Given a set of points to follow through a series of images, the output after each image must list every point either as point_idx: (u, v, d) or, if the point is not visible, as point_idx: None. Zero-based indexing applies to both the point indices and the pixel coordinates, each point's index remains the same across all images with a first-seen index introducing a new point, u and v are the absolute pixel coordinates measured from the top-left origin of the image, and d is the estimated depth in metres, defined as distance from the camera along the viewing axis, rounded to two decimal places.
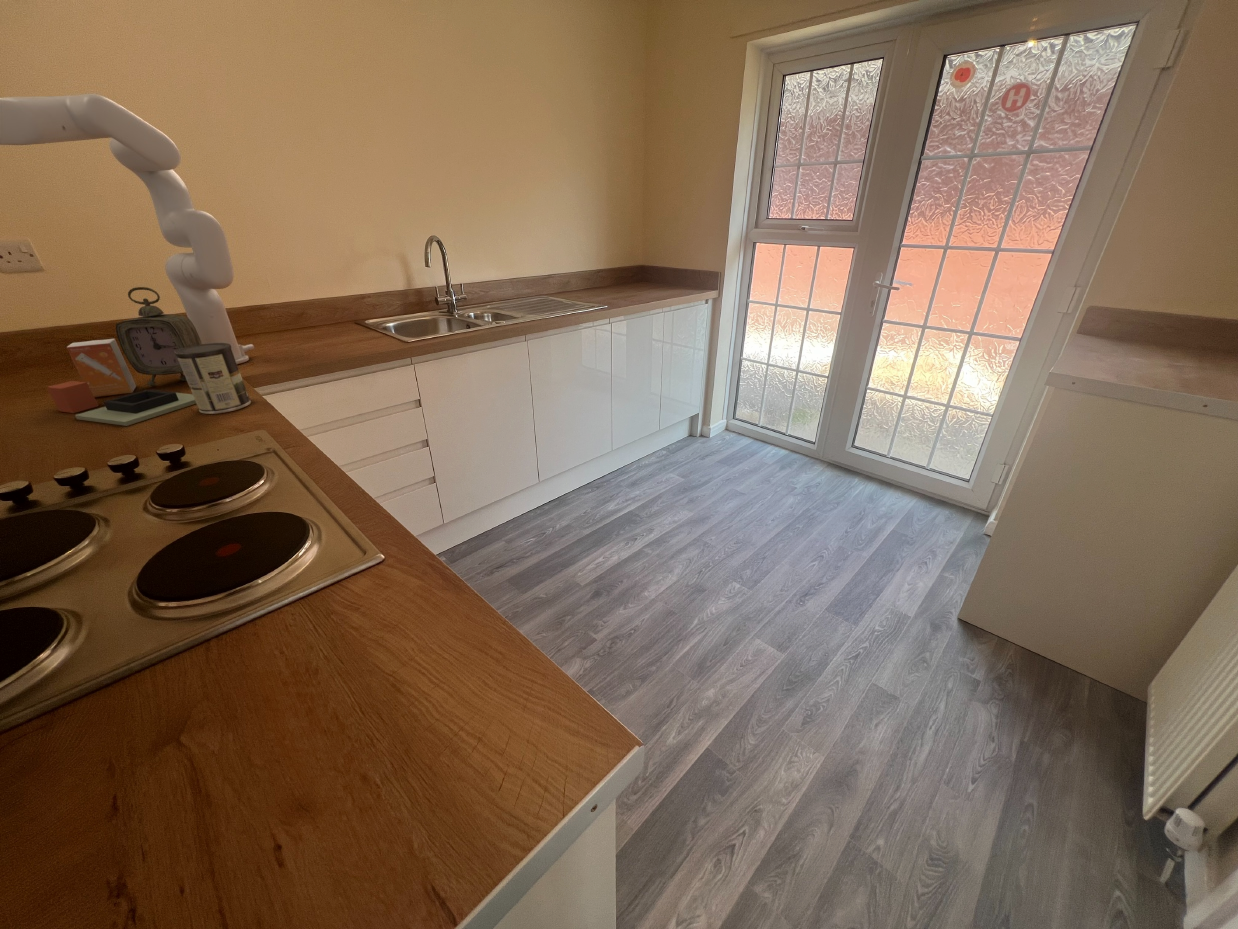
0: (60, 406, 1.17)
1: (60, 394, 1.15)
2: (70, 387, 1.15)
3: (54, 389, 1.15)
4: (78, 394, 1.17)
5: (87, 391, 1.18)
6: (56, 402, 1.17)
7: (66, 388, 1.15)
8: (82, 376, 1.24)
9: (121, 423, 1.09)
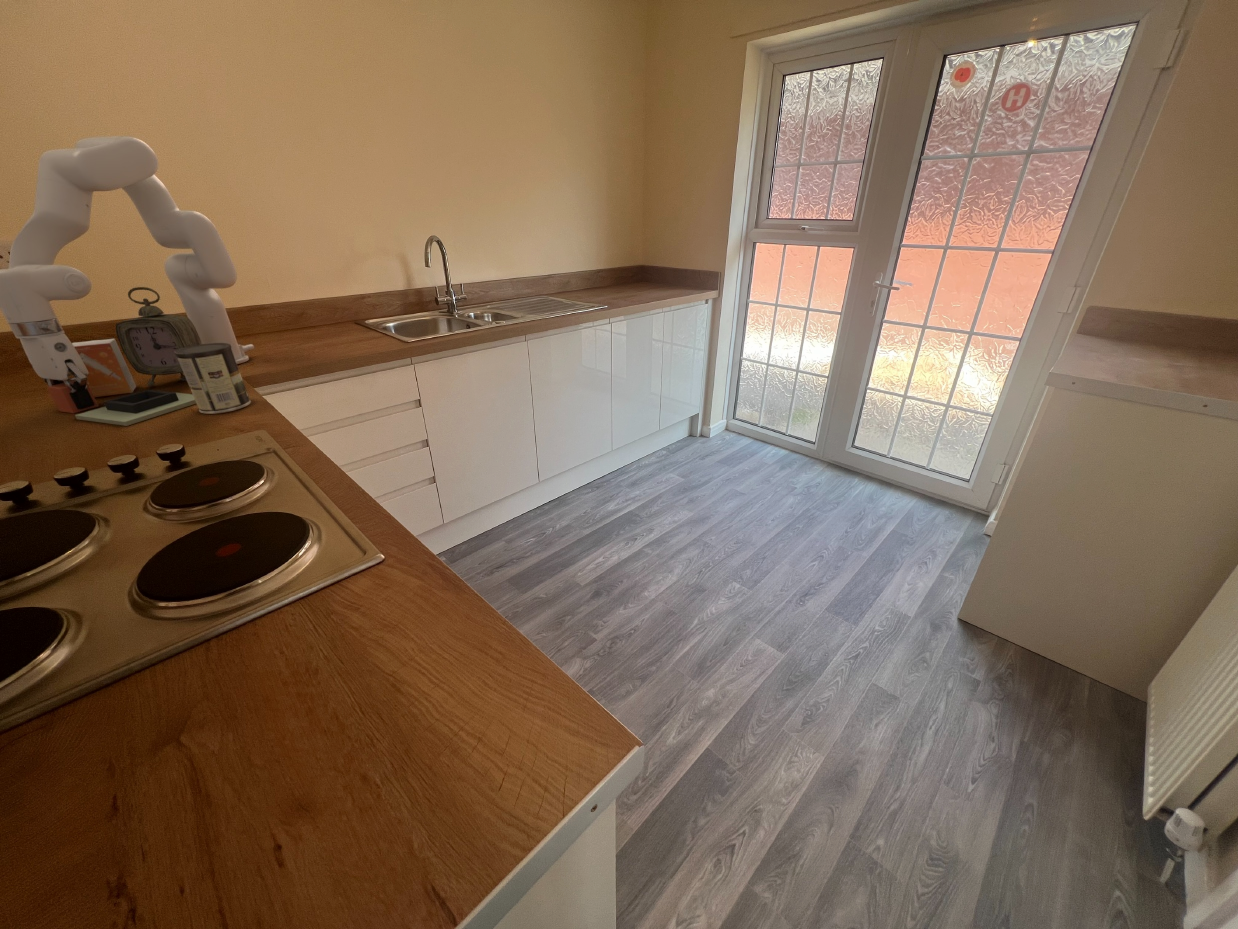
0: (60, 406, 1.17)
1: (60, 394, 1.15)
2: None
3: (54, 389, 1.15)
4: None
5: None
6: (56, 402, 1.17)
7: (66, 388, 1.15)
8: None
9: (121, 423, 1.09)
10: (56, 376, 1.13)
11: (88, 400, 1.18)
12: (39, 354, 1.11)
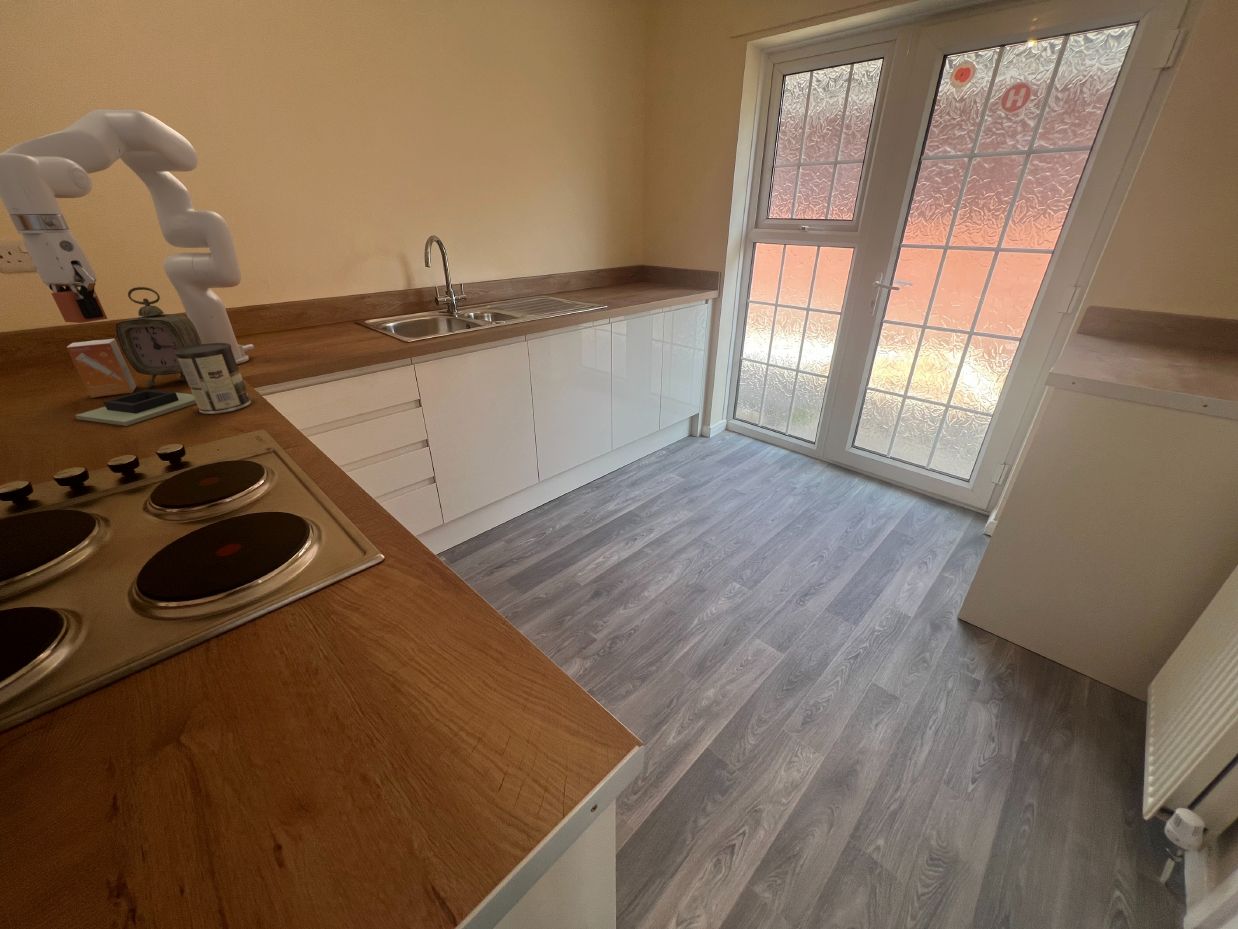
0: (66, 315, 1.07)
1: (66, 301, 1.05)
2: None
3: (59, 295, 1.05)
4: None
5: None
6: (61, 311, 1.07)
7: (72, 294, 1.05)
8: (82, 376, 1.24)
9: (121, 423, 1.09)
10: (61, 279, 1.03)
11: (96, 309, 1.08)
12: (43, 253, 1.01)
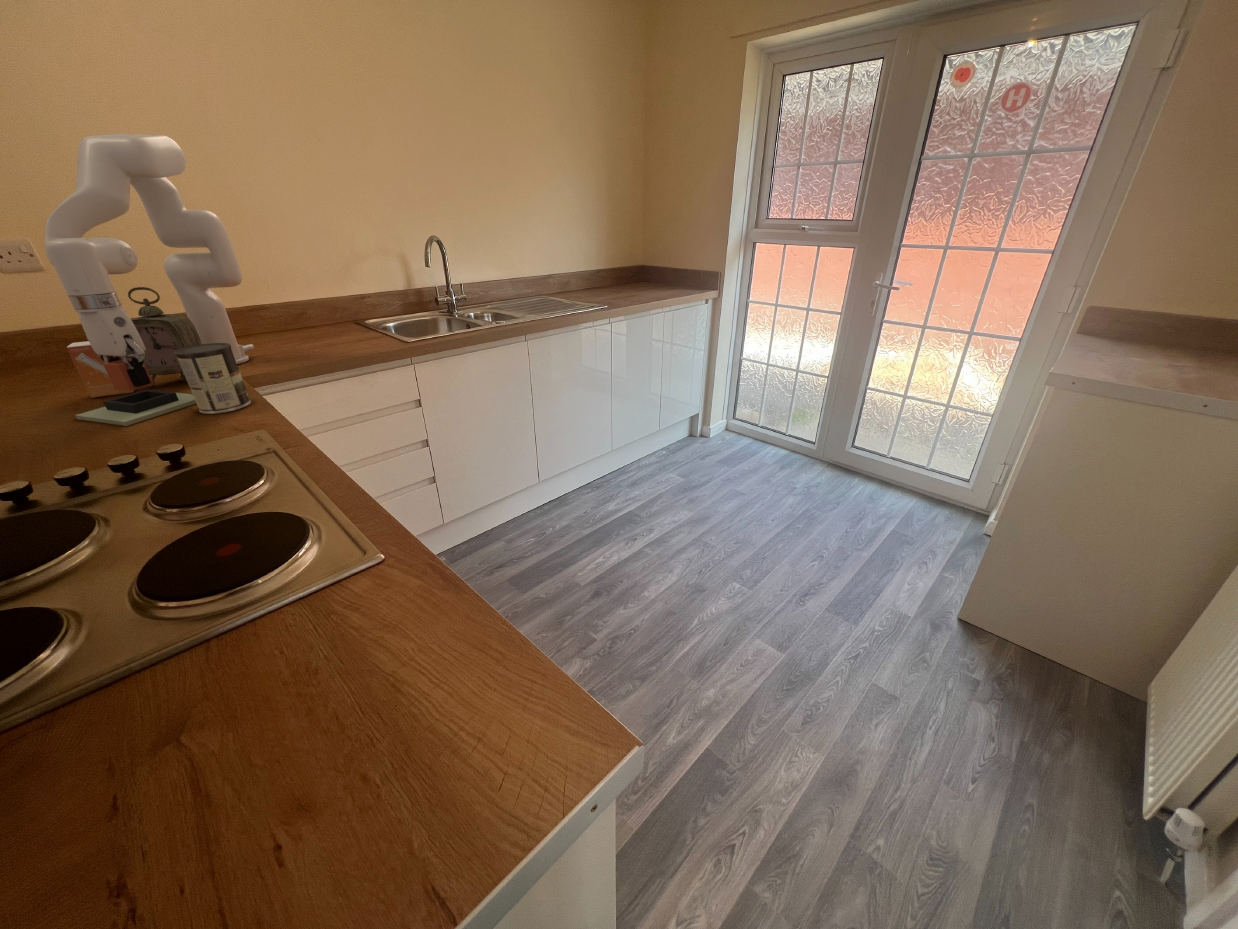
0: (116, 384, 1.13)
1: (117, 371, 1.11)
2: None
3: (111, 366, 1.11)
4: None
5: None
6: (112, 380, 1.13)
7: (123, 365, 1.11)
8: (82, 376, 1.24)
9: (121, 423, 1.09)
10: (114, 351, 1.10)
11: (145, 378, 1.14)
12: (98, 329, 1.07)
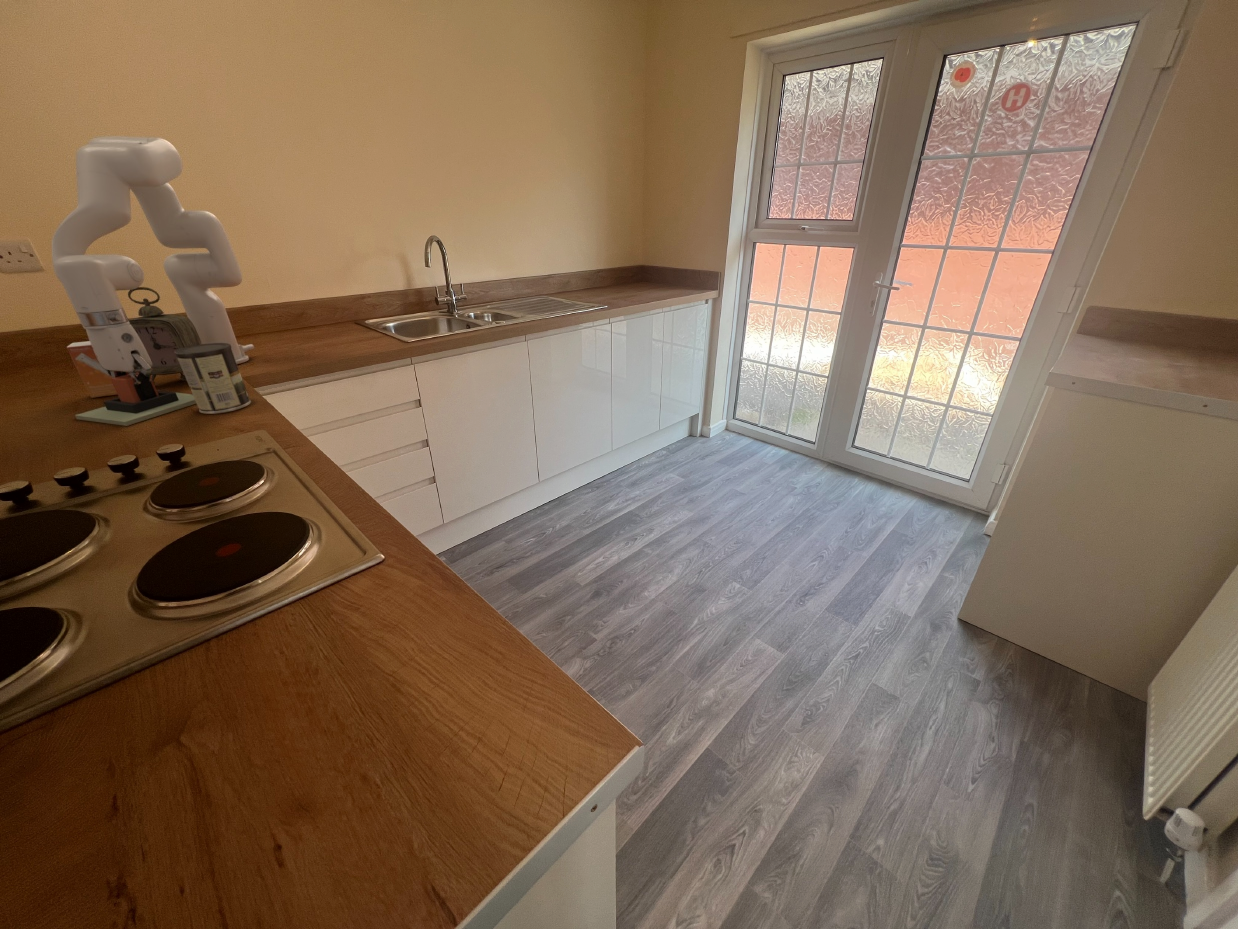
0: (123, 398, 1.15)
1: (124, 386, 1.13)
2: None
3: (118, 381, 1.13)
4: None
5: None
6: (119, 394, 1.15)
7: (130, 380, 1.13)
8: (82, 376, 1.24)
9: (121, 423, 1.09)
10: (121, 367, 1.11)
11: (151, 392, 1.16)
12: (106, 345, 1.09)
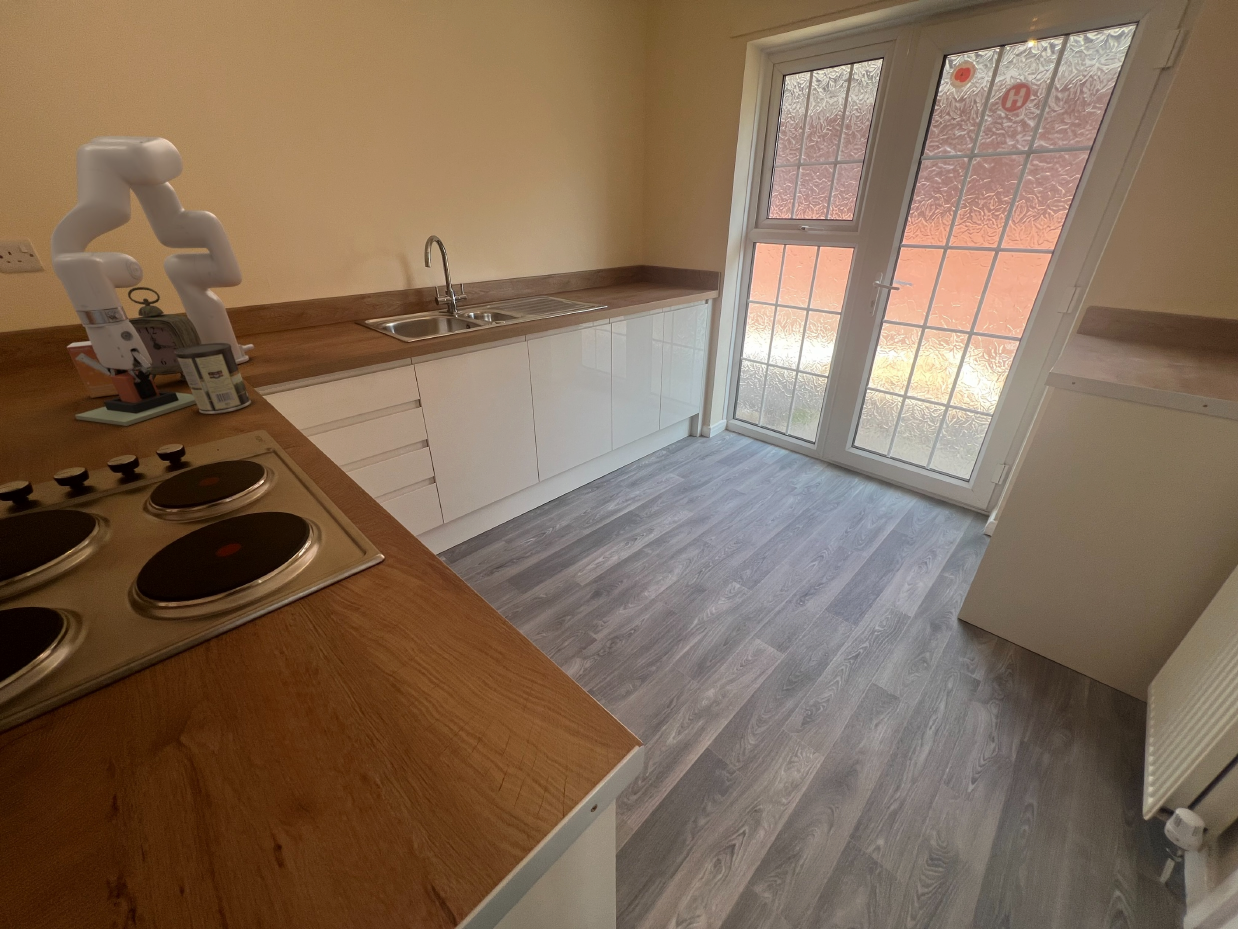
0: (123, 396, 1.15)
1: (124, 384, 1.13)
2: None
3: (118, 379, 1.13)
4: None
5: None
6: (119, 392, 1.15)
7: (130, 378, 1.13)
8: (82, 376, 1.24)
9: (121, 423, 1.09)
10: (121, 365, 1.11)
11: (151, 390, 1.16)
12: (105, 343, 1.09)
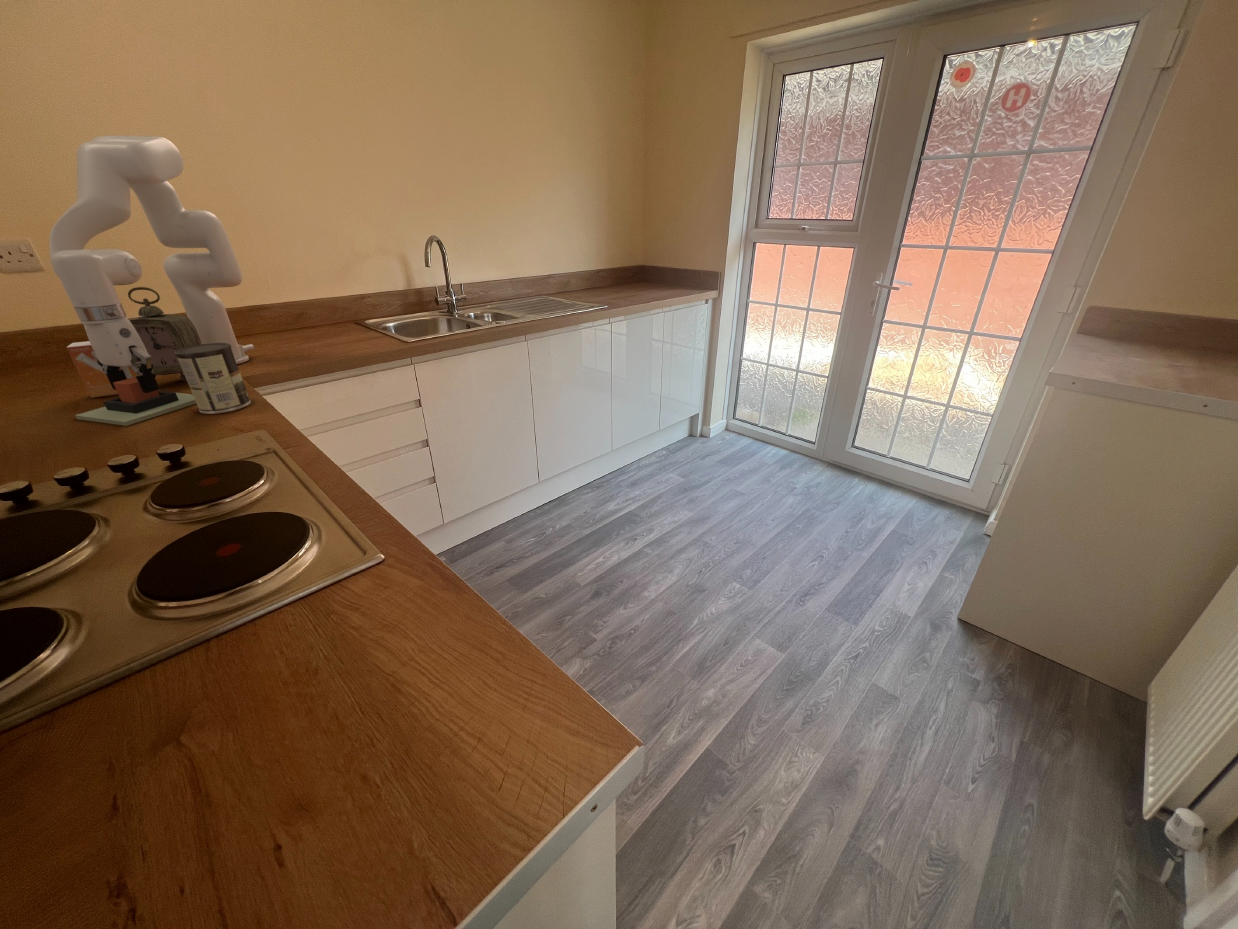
0: None
1: (127, 390, 1.14)
2: (137, 383, 1.14)
3: (121, 385, 1.13)
4: None
5: None
6: (122, 398, 1.15)
7: (133, 384, 1.14)
8: (82, 376, 1.24)
9: (121, 423, 1.09)
10: (119, 362, 1.11)
11: (154, 384, 1.15)
12: (103, 340, 1.09)
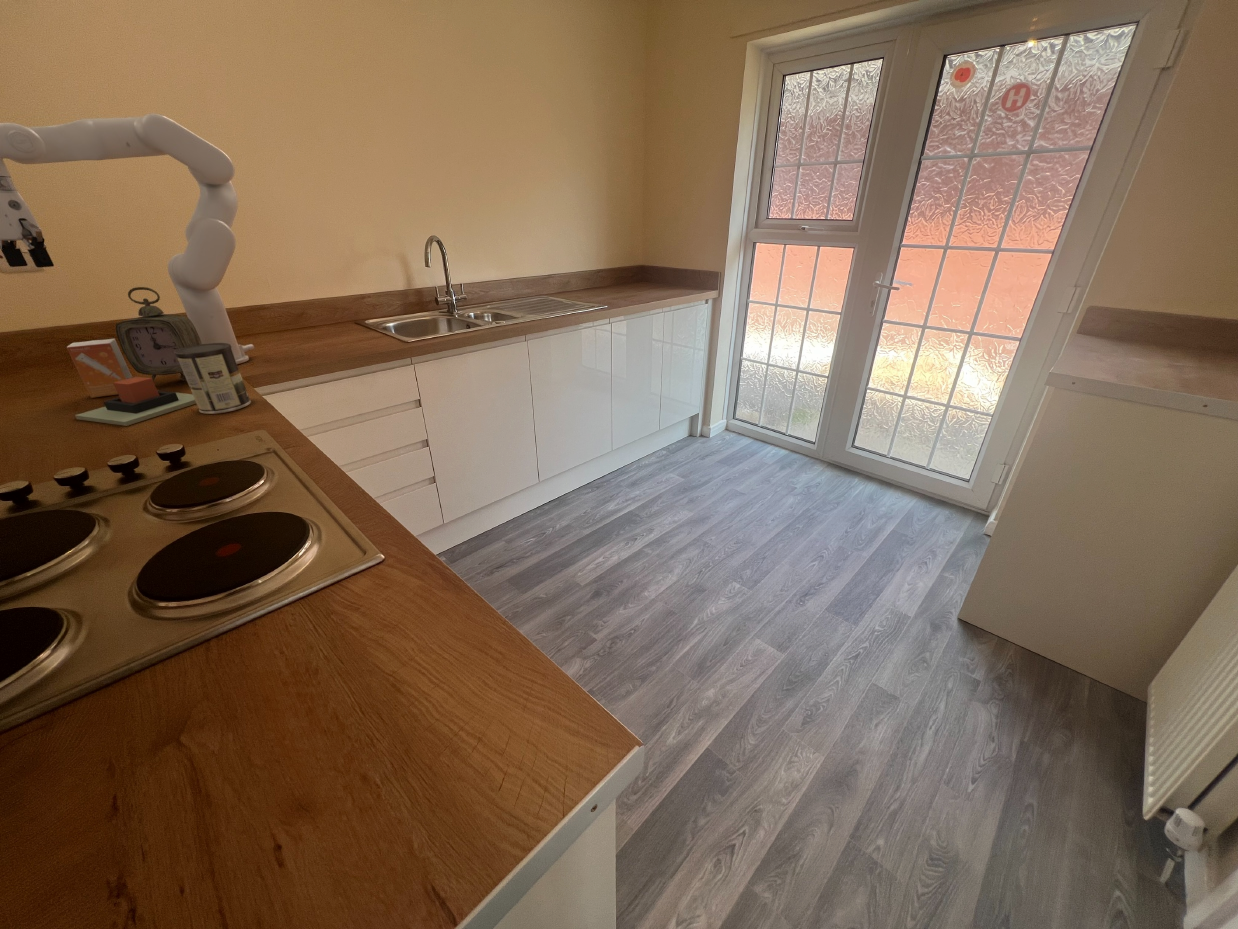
0: None
1: (127, 390, 1.14)
2: (137, 383, 1.14)
3: (121, 385, 1.13)
4: (144, 390, 1.16)
5: (152, 387, 1.17)
6: (122, 398, 1.15)
7: (133, 384, 1.14)
8: (82, 376, 1.24)
9: (121, 423, 1.09)
10: (10, 234, 1.16)
11: (47, 259, 1.20)
12: None
